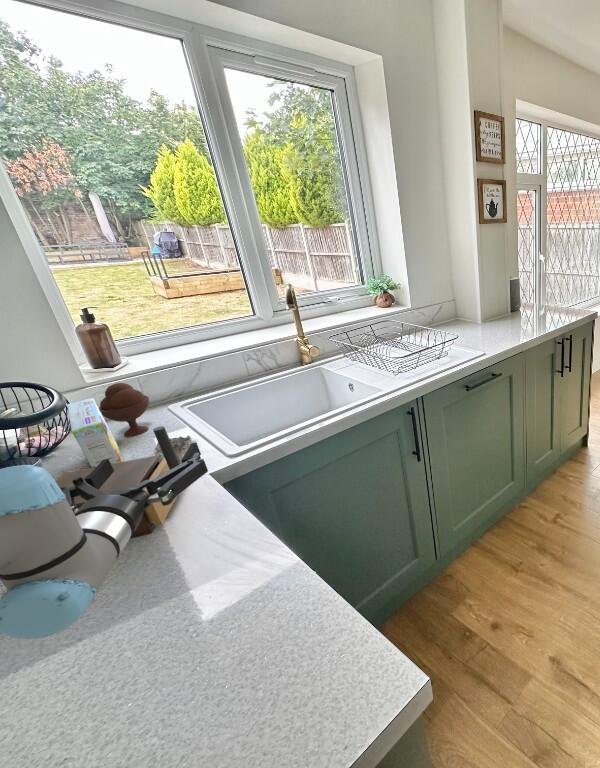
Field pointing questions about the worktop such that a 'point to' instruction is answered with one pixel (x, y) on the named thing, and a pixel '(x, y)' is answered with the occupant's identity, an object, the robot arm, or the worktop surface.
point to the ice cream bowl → (125, 406)
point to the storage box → (119, 483)
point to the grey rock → (175, 447)
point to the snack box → (93, 433)
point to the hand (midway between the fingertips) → (154, 456)
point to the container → (157, 510)
